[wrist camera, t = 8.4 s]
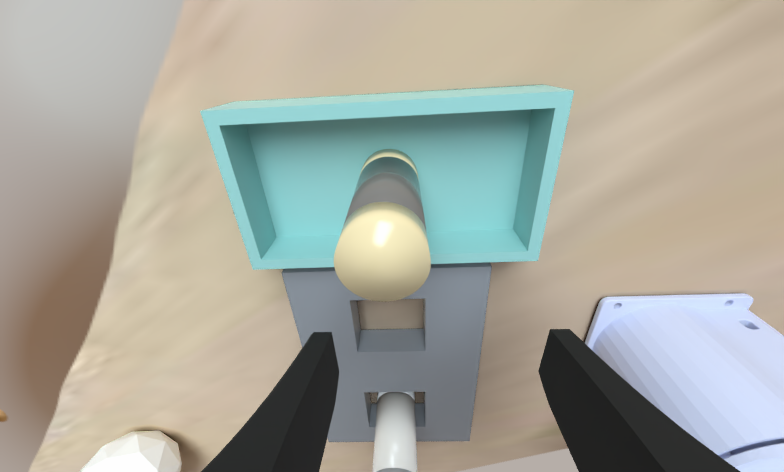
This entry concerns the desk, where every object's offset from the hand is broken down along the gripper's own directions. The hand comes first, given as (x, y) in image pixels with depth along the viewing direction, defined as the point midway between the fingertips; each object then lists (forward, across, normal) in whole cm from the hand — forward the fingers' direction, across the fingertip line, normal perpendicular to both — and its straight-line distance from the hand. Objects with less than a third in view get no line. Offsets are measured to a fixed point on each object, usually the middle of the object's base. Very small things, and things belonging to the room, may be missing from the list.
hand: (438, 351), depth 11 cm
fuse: (+9, +2, +15) cm, 18 cm away
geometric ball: (+9, +26, +23) cm, 36 cm away
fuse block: (+9, +2, +11) cm, 14 cm away
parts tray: (+9, +2, -3) cm, 10 cm away
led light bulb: (+9, +2, -3) cm, 9 cm away
